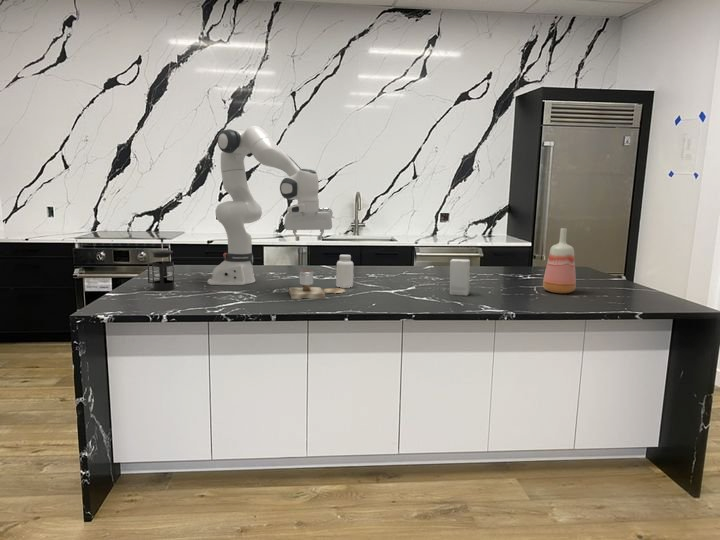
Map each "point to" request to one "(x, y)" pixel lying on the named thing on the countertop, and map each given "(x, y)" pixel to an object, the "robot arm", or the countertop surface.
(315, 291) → the post stand
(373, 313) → the countertop surface
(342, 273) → the pill bottle
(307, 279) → the cap
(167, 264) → the french press
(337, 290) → the coaster
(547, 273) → the vase
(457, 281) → the skincare box
